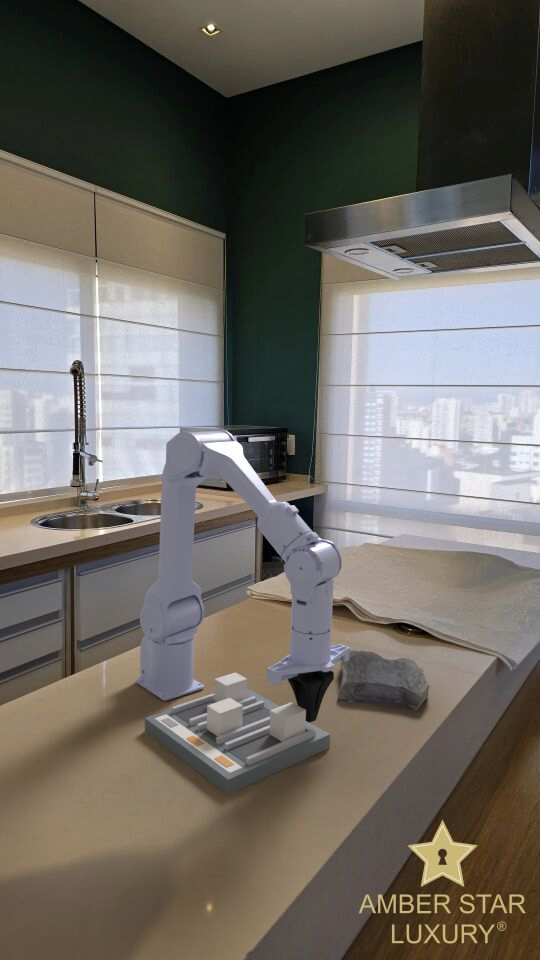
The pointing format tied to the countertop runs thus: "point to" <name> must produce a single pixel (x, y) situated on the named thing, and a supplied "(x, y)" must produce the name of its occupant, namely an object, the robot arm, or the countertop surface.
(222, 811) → the countertop surface
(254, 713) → the switch panel
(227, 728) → the tab middle
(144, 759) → the countertop surface
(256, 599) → the countertop surface
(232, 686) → the tab left
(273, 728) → the tab right
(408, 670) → the grey rock
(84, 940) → the countertop surface
